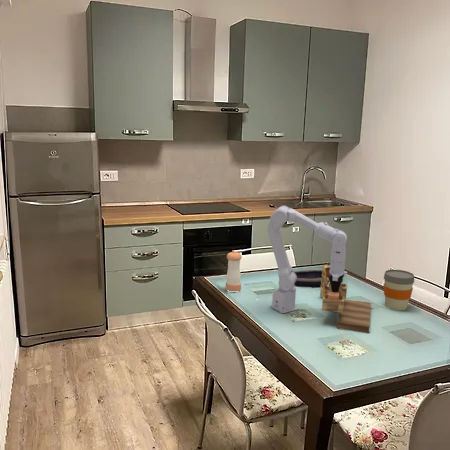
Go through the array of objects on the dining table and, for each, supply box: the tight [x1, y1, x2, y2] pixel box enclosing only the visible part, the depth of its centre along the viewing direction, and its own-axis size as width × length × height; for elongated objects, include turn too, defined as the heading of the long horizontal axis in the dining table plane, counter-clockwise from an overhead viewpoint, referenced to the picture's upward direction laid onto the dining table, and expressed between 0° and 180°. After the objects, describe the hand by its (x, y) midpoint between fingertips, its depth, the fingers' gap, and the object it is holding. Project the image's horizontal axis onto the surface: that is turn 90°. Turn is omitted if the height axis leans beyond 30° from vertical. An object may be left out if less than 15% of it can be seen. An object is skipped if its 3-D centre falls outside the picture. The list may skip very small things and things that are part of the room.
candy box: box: [319, 264, 344, 300], centre depth 212 cm, size 9×4×15 cm, turn 98°
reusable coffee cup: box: [383, 269, 415, 311], centre depth 203 cm, size 12×13×15 cm
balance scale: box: [321, 282, 348, 313], centre depth 192 cm, size 22×8×7 cm, turn 162°
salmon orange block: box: [328, 292, 339, 301], centre depth 185 cm, size 4×4×3 cm
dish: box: [293, 269, 322, 287], centre depth 234 cm, size 16×31×5 cm, turn 100°
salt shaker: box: [225, 250, 242, 292], centre depth 219 cm, size 7×7×19 cm
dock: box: [336, 299, 372, 334], centre depth 191 cm, size 26×12×2 cm, turn 162°
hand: (335, 292), depth 192 cm, fingers closed on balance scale, 4 cm apart
